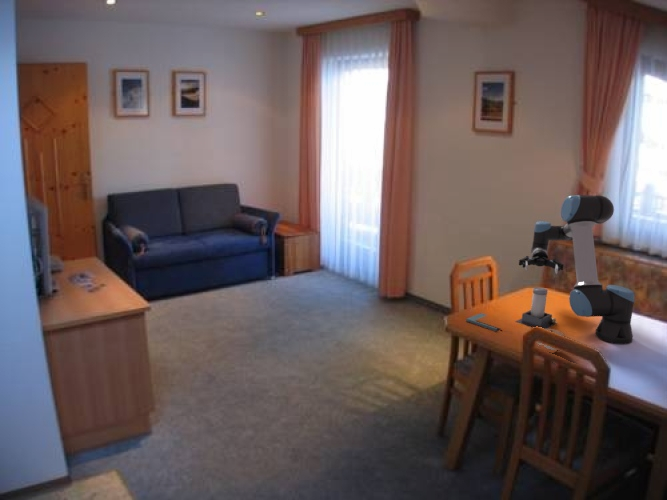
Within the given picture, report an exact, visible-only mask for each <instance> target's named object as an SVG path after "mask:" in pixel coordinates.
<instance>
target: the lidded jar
mask: <svg viewBox="0 0 667 500" xmlns="http://www.w3.org/2000/svg"><path fill="white" fill-rule="evenodd" d="M545 330H548V331H551V332H554V333H556V334H558V335H561V336H564V338H566V337H565V334H564V333H563V332H562V331H561V330H557V329H553V328H547V329H545ZM538 344H539V345H544V344H542V343H538V342H537V345H538ZM539 345H538V346H539ZM544 347H546V348H547V349H551V350H556V349H554V348H552V347H550V346H547V345H544Z"/></svg>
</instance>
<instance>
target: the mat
mask: <svg viewBox="0 0 667 500" xmlns="http://www.w3.org/2000/svg"><path fill="white" fill-rule="evenodd" d="M487 316H488V315H487V314H485V313H481V312H480V313H478V314H475V315H472V316H471V317H467V318H466V319H465V320H466V322H468V323H470V324H473V325H476V326H479V327H482V328H484V329H488V330H491V331H493V332H498V331H500V330H501V328H499V327H496V326H493V325H491V324H488V323H484V322H482V321H480V320H479V319H481V318H484V317H487ZM478 320H479V321H478Z"/></svg>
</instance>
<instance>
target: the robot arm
mask: <svg viewBox="0 0 667 500" xmlns="http://www.w3.org/2000/svg"><path fill="white" fill-rule="evenodd" d="M614 211H615V209H614V203H613V202H612V201H611V200H610V199H609V198H608V197H606V196H604V195H599V194H598V195H597V194H596V195H593V194H592V195H590V194H589V195H587V194H585V195H584V194H575V195H569V196H567V197H566V198H565V199H564V200H563V202H562V205H561V207H560V216H561V219H562V221H564V222H566V223H565V224H564V225H552V224H551V222H549V221H545V220H544V221H543V220H539V221H536V222H535V225H534V229H533V241H532V246H531V250H530V253H531V257H530V256H528V255H526V256H525V257H523V258H520V259H519V260H518V266H522V268H524V270H525V272H526V271H528V266H531V265H533V266H537V267H550V268H552V269H553V270H554V272H555V274H556V275H558V272H560V271H563V270H564V264H563V263H561V262H560V261H558V260H557V259H555V258H552V259H549V255H548V248H549V241H550V242H551V241H560V242H561V241H564V242H565V241H566V242H567V241H568V242H570V241H572V244H573V245H572V246H573V247H572V249H573V256H574V258H573V259H574V267H575V276H576V283H575V284H574V286H573V289H572V290H571V291H570V293H569V297H568V299H569V306H570V308H571V310H572V312H573V314H575V315H577V317H583V318H590V317H594V318H595V317H601V320H600V322H599V323H598V325H597V328H595V337H597V338H598V339H599V340H601V341H604V342H606V343H610V344H617V345H626V344H630V343H632V342H633V336H634V334H633V329H632V325H631V323H632V317H633V316H632V315H633V311H634V304H635V303H636V301H635V297H636V295H635V292H634V291H633V290H632V289H630V288H627V287H625V286H620V285H618V284H617V285H616V284H608V285H606V287H605V288H606V289H604V288H603V284H602V283H601V282H600V281H599V280H598V279H599V278H598V270H597V260H596V249H595V242H594V241H595V240H594V232H593V231H594V230H593V227H594V226H596V225H599V224H600V225H602V224H604V223H606V222H607V221H609V220H610V219H611V218H612V217H613V216H614Z"/></svg>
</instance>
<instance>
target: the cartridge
mask: <svg viewBox="0 0 667 500" xmlns="http://www.w3.org/2000/svg"><path fill="white" fill-rule="evenodd" d="M547 295H548V289H547V288H545V287H540V286H539V287H538V286H537V287H533V290H532V299H531V306H530V310H531V314H530V315H531V316H534V317H538V318H543V317H544V313H546V304H547Z"/></svg>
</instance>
